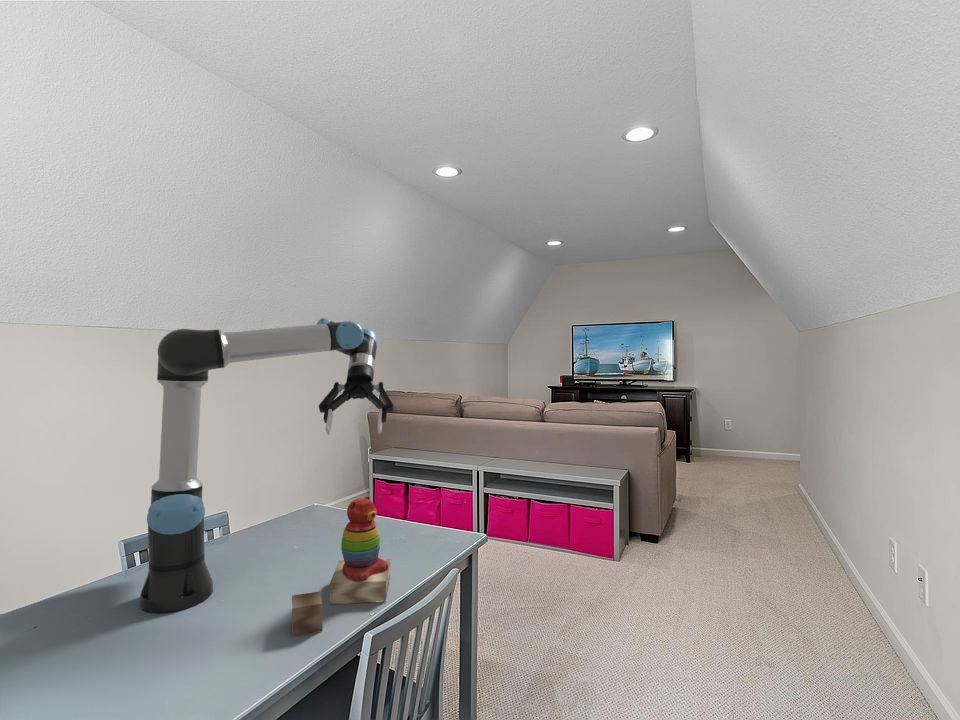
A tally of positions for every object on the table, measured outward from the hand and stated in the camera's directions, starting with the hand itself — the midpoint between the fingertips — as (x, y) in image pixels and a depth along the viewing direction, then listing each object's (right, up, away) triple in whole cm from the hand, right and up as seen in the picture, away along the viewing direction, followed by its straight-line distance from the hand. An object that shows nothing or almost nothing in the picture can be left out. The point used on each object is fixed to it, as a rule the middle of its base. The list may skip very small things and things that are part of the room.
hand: (353, 431), depth 141 cm
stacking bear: (+5, -33, -10) cm, 35 cm away
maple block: (+4, -38, -10) cm, 40 cm away
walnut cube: (-4, -39, -27) cm, 47 cm away
